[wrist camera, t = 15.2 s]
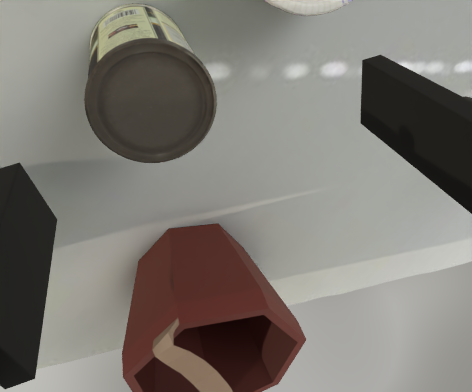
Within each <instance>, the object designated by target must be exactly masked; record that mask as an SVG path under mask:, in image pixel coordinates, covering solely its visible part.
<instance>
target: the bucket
mask: <svg viewBox="0 0 472 392" xmlns="http://www.w3.org/2000/svg"><path fill="white" fill-rule="evenodd" d="M305 341H306V338H305V336H304V334H303V332H302V330H301V327H300V326H299V323H298V321H297V320H296V318H295V317H294V315H293V314H292V313H291V311H290V310H289V309H288V308H287V306H286V305H285V303H284V302H283V301H282V299H281V298H280V297H279V295H278V294H277V293H276V291H275V290H274V289H273V287H272V286H271V285H270V283H269V282H268V281H267V279H266V278H265V277H264V275H263V274H262V272H261V271H260V270H259V268H258V267H257V266H256V264H255V263H254V262H253V260H252V259H251V258H250V256H249V255H248V254H247V252H246V251H245V250H244V248H243V247H242V246H241V245H240V244H239V243H238V242H237V241H236V240H235V239H234V238H232V237H231V236H230V235H229V234H228V233H227V232H226V231H225V230H224V229H223V228H222V227H221V226H220V225H219V224H209V225H200V226H190V227H181V228H171V229H168V230H167V231H166V232H165V233H164V235H163V236H162V237H161V238H160V239H159V240H158V241H157V242H156V243H155V244H154V245H153V246H152V247H151V248H150V249H149V251H148V252H147V253H146V254H145V255H144V256H143V257H142V258H141V259H140V260H139V262H138V267H137V273H136V279H135V284H134V290H133V295H132V301H131V307H130V312H129V318H128V323H127V329H126V335H125V340H124V346H123V351H122V361H123V378H124V379H125V381H126V382H127V384H128V385H129V387H130V388H131V390H132V392H262V391H264V390H266V389H268V388H270V387H272V386H275V385H277V384H278V383H279V382H280V380H281V379H282V377H283V376H284V374H285V372H286V371H287V369H288V368H289V366H290V365H291V363H292V361H293V360H294V358H295V357H296V355H297V354H298V352H299V350H300V349H301V347H302V346H303V344H304V343H305Z"/></svg>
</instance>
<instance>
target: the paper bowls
mask: <svg viewBox="0 0 472 392" xmlns="http://www.w3.org/2000/svg"><path fill="white" fill-rule="evenodd" d="M264 1H266V2H267V3H269V4H271V5H272V6H274V7H277V8H279V9H281V10H283V11H286V12H288V13H292V14H295V15H301V16H313V15H321V14H325V13H329V12H332V11H334V10H337V9H339V8H341V7H343V6H345V5H346V4H348V3H350V2H351V1H352V0H264Z"/></svg>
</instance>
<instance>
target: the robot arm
mask: <svg viewBox="0 0 472 392" xmlns="http://www.w3.org/2000/svg"><path fill="white" fill-rule="evenodd" d="M361 124H362V125H364V126H365V127H366V128H367V129H368V130H370V131H371V132H372V133H373V134H375V135H376V136H377V137H378V138H379V139H381V140H382V141H383V142H384V143H386V144H387V145H388V146H389V147H391V148H392V149H393V150H394V151H395V152H397V153H398V154H399V155H400V156H402V157H403V158H404V159H405V160H406V161H408V162H409V163H410V164H411V165H413V166H414V167H415V168H416V169H417V170H419V171H420V172H421V173H422V174H424V175H425V176H426V177H427V178H428V179H430V180H431V181H432V182H433V183H435V184H436V185H437V186H438V187H440V188H441V189H442V190H443V191H444V192H446V193H447V194H448V195H449V196H451V197H452V198H453V199H454V200H455V201H457V202H458V203H459V204H460V205H462V206H463V207H464V208H465V209H466V210H468V211H469V212H470V213H471V214H472V98H470V97H462V96H460V95H458V94H456V93H454V92H452V91H450V90H448V89H446V88H444V87H442V86H440V85H438V84H436V83H434V82H432V81H430V80H429V79H427V78H425V77H423V76H421V75H419V74H417V73H415V72H413V71H411V70H409V69H407V68H405V67H403V66H401V65H399V64H397V63H395V62H394V61H392V60H390V59H388V58H386V57H384V56H382V55H378V56H375V57H372V58H368V59H365V60H363V62H362V94H361ZM56 224H57V219H56V217H55V215H54V214H53V212H52V211H51V209H50V208H49V206H48V205H47V203H46V202H45V200H44V199H43V197H42V196H41V194H40V193H39V191H38V190H37V188H36V187H35V185H34V184H33V182H32V181H31V179H30V177H29V176H28V174H27V173H26V171H25V170H24V168H23V167H22V165H21V164H20V163H17V164H14V165H10V166H7V167H4V168H0V386H2V387H3V388H4V389H7V388H10V387H13V386H16V385H18V384H21V383H24V382H27V381H30V380H32V379H35V374H36V367H37V360H38V353H39V346H40V339H41V331H42V324H43V317H44V310H45V303H46V296H47V288H48V281H49V274H50V267H51V260H52V253H53V245H54V238H55V231H56Z"/></svg>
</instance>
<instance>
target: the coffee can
mask: <svg viewBox="0 0 472 392" xmlns="http://www.w3.org/2000/svg"><path fill="white" fill-rule="evenodd" d="M84 101H85V110H86V115H87V118H88V121H89V124H90V126H91V128H92V130H93V131H94V133H95V135H96V136H97V137H98V138H99V140H100V141H101V142H102V143H103V144H104V145H105V146H107V147H108V148H109V149H111V150H112V151H113V152H115V153H117V154H118V155H120V156H122V157H124V158H127V159H130V160H133V161H137V162H144V163H160V162H165V161H170V160H173V159H176V158H179V157H181V156H183V155H185V154H186V153H188V152H190V151H191V150H192V149H194V148H195V147H196V146H197V145H198V144H199V143H200V142H201V141H202V140H203V139H204V138H205V136H206V135H207V133H208V132H209V130H210V128H211V126H212V123H213V121H214V117H215V113H216V106H217V98H216V91H215V87H214V83H213V80H212V78H211V76H210V74H209V72H208V71H207V69H206V68H205V66H204V65H203V63H202V62H201V61H200V60H199V59H198V58H197V57H196V55H195V54H194V52H193V51H192V49H191V48H190V46H189V45H188V43H187V42H186V40H185V39H184V37H183V35H182V33H181V31H180V29H179V28H178V26H177V25H176V24H175V23H174V21H173V20H172V19H171V18H170V17H169V16H167V15H166V14H165V13H163V12H162V11H160V10H158V9H156V8H154V7H151V6H148V5H143V4H127V5H123V6H119V7H117V8H115V9H113V10H111V11H109V12H108V13H107V14H105V15H104V16H103V17H102V18H101V19H100V20H99V21H98V23H97V24H96V26H95V28H94V30H93V33H92V36H91V40H90V60H89V74H88V81H87V85H86V89H85V98H84Z"/></svg>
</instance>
